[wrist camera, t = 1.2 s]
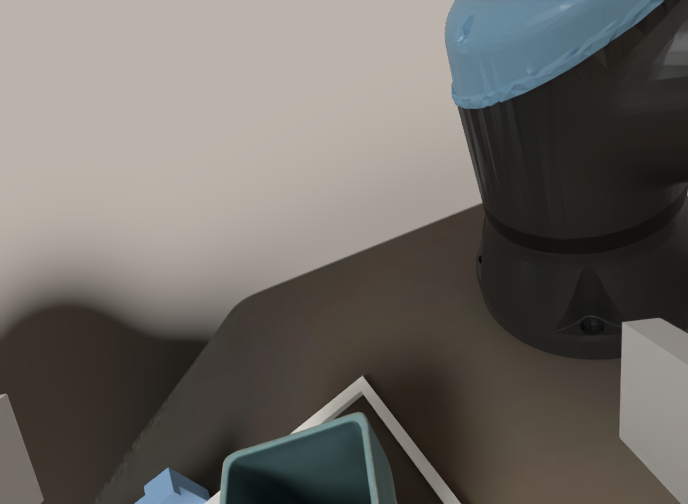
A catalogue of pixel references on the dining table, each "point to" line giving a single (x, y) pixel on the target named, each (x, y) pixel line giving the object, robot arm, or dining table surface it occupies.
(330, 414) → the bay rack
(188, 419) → the dining table surface
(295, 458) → the flower pot
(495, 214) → the robot arm
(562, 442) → the dining table surface
